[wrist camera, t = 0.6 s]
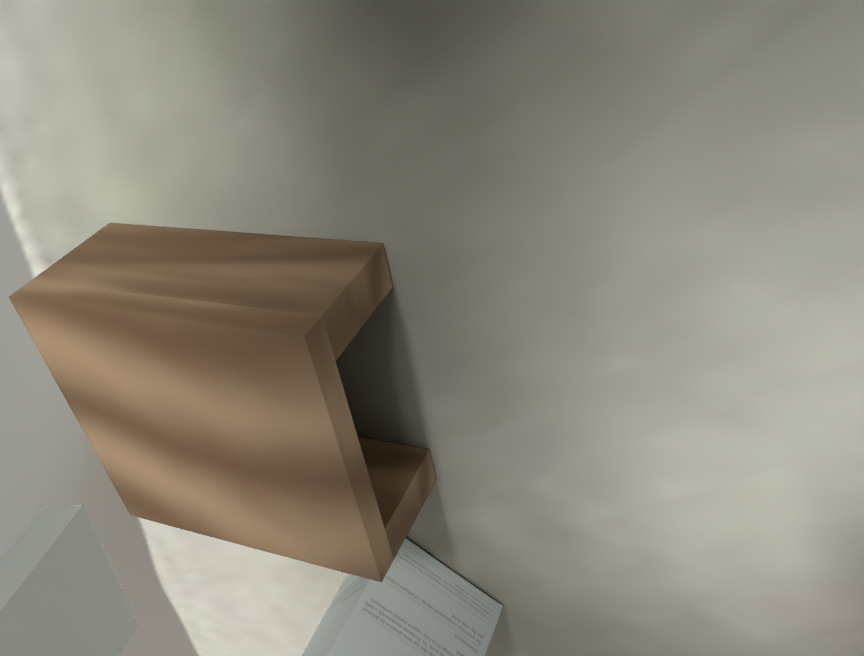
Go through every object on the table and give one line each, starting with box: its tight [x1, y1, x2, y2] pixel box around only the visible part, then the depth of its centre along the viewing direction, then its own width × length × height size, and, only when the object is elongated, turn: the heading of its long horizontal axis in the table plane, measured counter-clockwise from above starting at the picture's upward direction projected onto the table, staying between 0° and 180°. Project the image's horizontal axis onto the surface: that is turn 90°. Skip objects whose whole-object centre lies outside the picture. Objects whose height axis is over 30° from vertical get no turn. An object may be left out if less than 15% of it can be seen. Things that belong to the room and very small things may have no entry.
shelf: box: [9, 223, 436, 582], centre depth 35 cm, size 13×14×6 cm
